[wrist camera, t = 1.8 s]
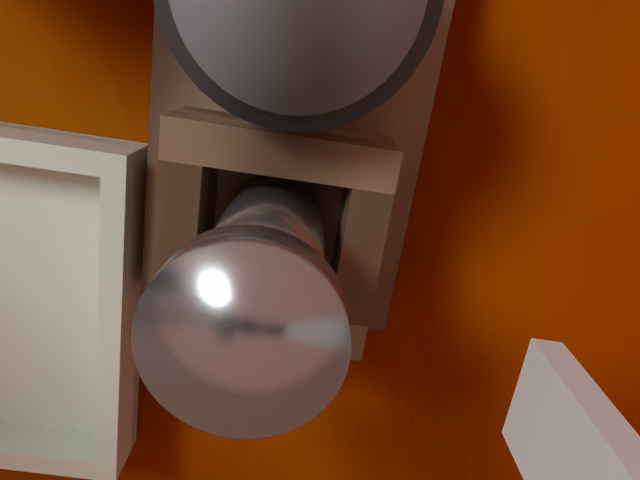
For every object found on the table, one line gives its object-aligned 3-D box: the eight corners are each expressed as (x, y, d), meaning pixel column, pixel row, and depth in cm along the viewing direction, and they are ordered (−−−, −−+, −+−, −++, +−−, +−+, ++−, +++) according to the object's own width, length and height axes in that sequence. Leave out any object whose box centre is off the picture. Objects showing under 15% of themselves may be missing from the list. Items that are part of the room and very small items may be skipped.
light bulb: (209, 267, 23) (127, 425, 13) (220, 149, 22) (134, 229, 12) (328, 284, 24) (332, 450, 14) (347, 168, 22) (369, 261, 12)
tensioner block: (154, 280, 26) (84, 373, 18) (176, -132, 20) (90, -243, 13) (380, 311, 26) (404, 415, 19) (461, -82, 21) (542, -161, 13)
